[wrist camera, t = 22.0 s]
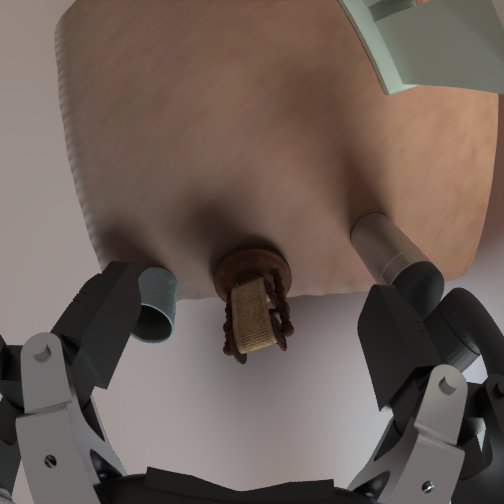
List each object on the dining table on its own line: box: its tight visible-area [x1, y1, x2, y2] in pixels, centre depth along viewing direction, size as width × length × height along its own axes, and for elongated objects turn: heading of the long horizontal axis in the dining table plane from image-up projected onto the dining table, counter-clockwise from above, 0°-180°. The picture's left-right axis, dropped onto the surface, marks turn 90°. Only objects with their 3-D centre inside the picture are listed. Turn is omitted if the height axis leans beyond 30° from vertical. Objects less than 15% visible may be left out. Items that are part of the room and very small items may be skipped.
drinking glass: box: [131, 267, 178, 343], centre depth 51 cm, size 10×10×12 cm
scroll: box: [214, 246, 294, 364], centre depth 47 cm, size 15×15×20 cm
